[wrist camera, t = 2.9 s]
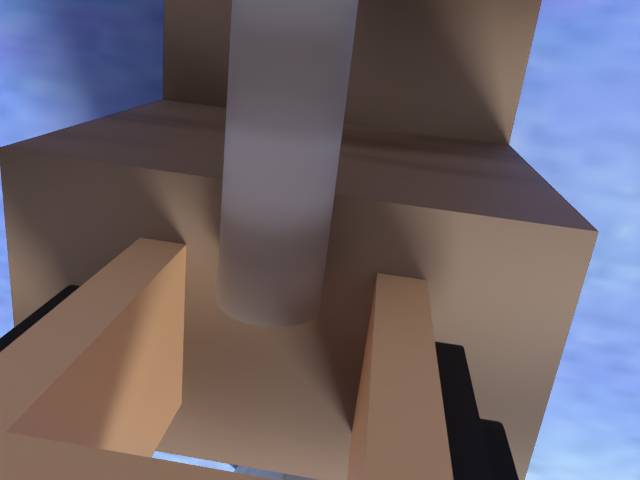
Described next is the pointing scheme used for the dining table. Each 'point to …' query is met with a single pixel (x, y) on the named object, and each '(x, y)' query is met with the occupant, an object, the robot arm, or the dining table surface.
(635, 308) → the dining table surface
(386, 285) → the cord clip
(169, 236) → the rod slider mechanism
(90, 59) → the dining table surface
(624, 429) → the dining table surface
